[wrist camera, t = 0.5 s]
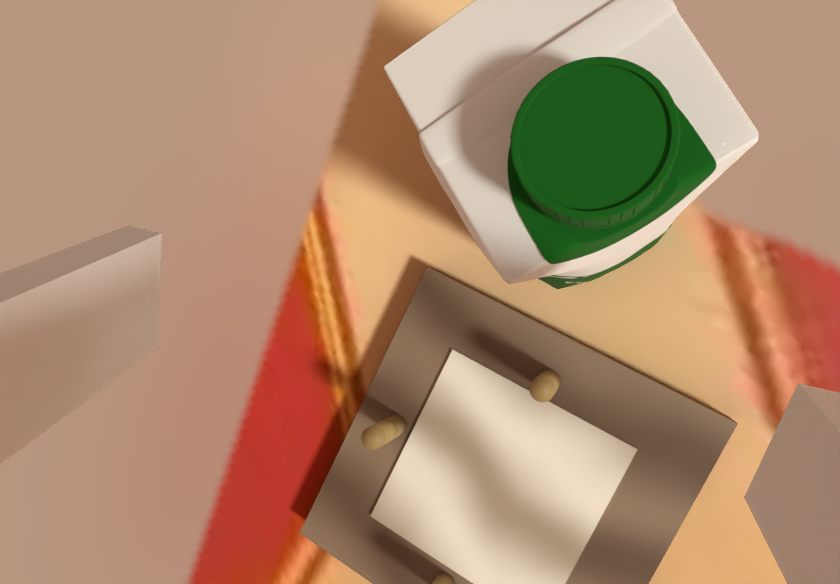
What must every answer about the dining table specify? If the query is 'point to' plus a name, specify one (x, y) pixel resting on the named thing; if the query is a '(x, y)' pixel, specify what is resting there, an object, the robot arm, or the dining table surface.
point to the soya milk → (569, 128)
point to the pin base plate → (510, 455)
